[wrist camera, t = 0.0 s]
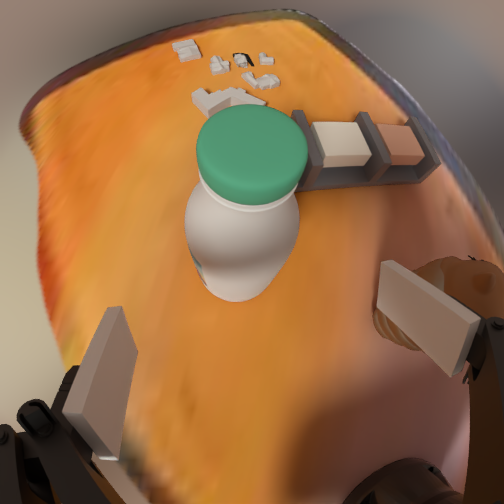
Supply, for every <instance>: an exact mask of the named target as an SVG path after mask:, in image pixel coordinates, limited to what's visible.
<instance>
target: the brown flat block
mask: <svg viewBox="0 0 504 504" xmlns="http://www.w3.org/2000/svg"><path fill="white" fill-rule="evenodd" d="M375 128H376V130H377V132H378V134H379V136H380V138H381V140H382V142H383V144H384V146H385V148H386V150H387V152H388V154H389V156H390V159H391V161H392V164H391V165H417V164H418V163H419V162H420V161H421V160H422V159H423V158H424V156H425V155H424V153H423V151H422V149H421V147H420V145H419V143H418V141H417V139H416V137H415V135H414V133H413V132H412V130H411V128H410V126H401V125H389V124H375Z"/></svg>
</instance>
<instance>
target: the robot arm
mask: <svg viewBox="0 0 504 504" xmlns="http://www.w3.org/2000/svg"><path fill="white" fill-rule="evenodd" d="M377 308H378V309H379V310H381V311H382V312H383V313H384V314H385V315H386V316H387V317H388V318H389V319H390V320H391V321H392V322H394V323H395V324H396V325H397V326H398V327H399V328H400V329H401V330H402V331H403V332H404V333H405V334H406V335H407V336H408V337H409V338H410V339H412V340H413V341H414V342H415V343H416V344H417V345H418V346H419V347H420V348H421V349H422V350H423V351H424V352H425V353H426V354H427V355H428V356H429V357H430V358H431V359H432V360H433V361H434V362H435V363H436V364H437V365H438V366H439V367H440V368H441V369H442V370H443V371H444V372H445V373H446V374H447V375H448V376H449V377H450V378H451V377H452V376H454V375H456V374H457V373H459V372H461V371H462V369H463V366H464V364H465V361H466V360H467V361H468V362H469V363H470V365H469V368H468V370H467V372H466V374H465V377H464V379H463V383H465V381H466V379H467V378H469V381H468V383H467V384H469V394H470V442H469V457H468V468H467V477H466V484H465V491H464V495H463V494H460V493H458V492H456V491H454V489H453V488H452V487H451V485H450V484H449V483H448V481H447V480H446V478H445V477H444V476H443V474H442V473H441V471H440V470H439V469H438V468H437V467H436V466H434V465H433V464H431V463H429V462H427V461H424V460H422V459H417V458H409V459H403V460H400V461H396V462H394V463H391V464H389V465H387V466H385V467H383V468H381V469H380V470H378V471H376V472H375V473H373V474H372V475H371V476H369V477H368V478H367V479H365V480H364V481H363V482H362V483H361V484H360V485H359V486H357V487H356V488H355V489H354V490H353V492H352V493H351V494H350V495H349V496H348V497H347V499H346V500H345V502H344V503H343V504H504V319H502V318H500V317H490V318H488V319H485V318H484V317H483V316H481V315H480V314H478V313H477V312H475V311H474V310H473V309H471V308H470V307H468V306H466V305H465V304H464V303H462V302H461V301H459V300H458V299H456V298H455V297H453V296H451V295H448V294H446V293H444V292H442V291H441V290H439V289H438V288H436V287H435V286H433V285H432V284H430V283H429V282H427V281H426V280H424V279H422V278H421V277H419V276H418V275H416V274H415V273H413V272H411V271H410V270H408V269H407V268H405V267H403V266H402V265H400V264H399V263H397V262H395V261H394V260H387V261H382V262H381V266H380V278H379V289H378V298H377ZM137 354H138V350H137V348H136V345H135V343H134V340H133V337H132V334H131V332H130V329H129V326H128V323H127V320H126V317H125V314H124V311H123V308H122V306H117V307H109V308H107V310H106V312H105V314H104V316H103V318H102V320H101V322H100V324H99V326H98V328H97V330H96V332H95V334H94V336H93V338H92V340H91V343H90V345H89V347H88V349H87V351H86V354H85V356H84V358H83V360H82V363H81V365H77V366H73V367H72V368H71V369H70V370H69V371H68V372H67V373H66V374H65V376H64V379H63V381H62V384H61V386H60V388H59V392H58V393H57V395H56V397H55V400H54V402H53V404H52V407H51V409H49V407H48V406H47V404H46V403H45V402H44V401H42V400H40V399H33V400H30V401H27V402H26V403H24V404H23V405H22V406H21V408H20V409H19V410H18V413H17V421H18V423H19V424H20V425H21V426H22V427H23V429H24V430H25V431H26V432H20V433H16V432H15V431H14V430H13V428H12V427H11V426H10V425H7V424H1V425H0V504H61V503H62V504H126V503H125V502H124V501H123V499H122V498H121V497H120V496H119V495H118V494H117V492H116V491H115V490H114V488H113V487H112V486H111V485H110V483H109V482H108V481H107V479H106V478H105V477H104V475H103V474H102V473H101V471H100V470H99V469H98V467H97V466H96V464H95V463H94V462H93V461H92V460H91V458H92V452H94V453H95V454H96V455H97V456H98V457H99V458H100V459H105V460H119V452H120V445H121V438H122V432H123V426H124V420H125V414H126V408H127V403H128V397H129V392H130V387H131V382H132V377H133V372H134V368H135V363H136V359H137Z"/></svg>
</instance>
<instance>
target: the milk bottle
mask: <svg viewBox="0 0 504 504" xmlns="http://www.w3.org/2000/svg"><path fill="white" fill-rule="evenodd" d="M196 153H197V162H198V167H199V176H200V181H199V182H198V184H197V185H196V186H195V188H194V189H193V191H192V193H191V196H190V198H189V200H188V203H187V207H186V212H185V234H186V239H187V243H188V247H189V250H190V253H191V256H192V258H193V261H194V264H195V266H196V269H197V271H198V273H199V276H200V278H201V280H202V282H203V283H204V285H205V286H206V288H207V289H208V290H209V291H210V292H211V293H212V294H214V295H215V296H217V297H218V298H221V299H223V300H226V301H231V302H241V301H246V300H250V299H252V298H254V297H256V296H257V295H259V294H260V293H261V292H263V291H264V290H265V289H266V287H267V286H268V285H269V284H270V283H271V281H272V280H273V279H274V277H275V276H276V275H277V273H278V272H279V271H280V269H281V268H282V266H283V265H284V263H285V262H286V260H287V259H288V257H289V255H290V253H291V252H292V250H293V248H294V245H295V243H296V239H297V236H298V231H299V209H298V204H297V200H296V198H295V195H294V191H295V189H296V187H297V185H298V182H299V180H300V178H301V176H302V174H303V172H304V169H305V166H306V163H307V159H308V144H307V140H306V137H305V135H304V133H303V131H302V129H301V128H300V127H299V125H298V124H297V123H296V122H295V121H294V120H293V119H291V118H290V117H289V116H287V115H286V114H284V113H282V112H281V111H279V110H276V109H274V108H271V107H268V106H263V105H257V104H241V105H235V106H231V107H228V108H225V109H223V110H221V111H219V112H217V113H215V114H214V115H213V116H211V117H210V118H209V119H208V120H207V121H206V122H205V124H204V125H203V127H202V128H201V130H200V133H199V136H198V139H197V144H196Z"/></svg>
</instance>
